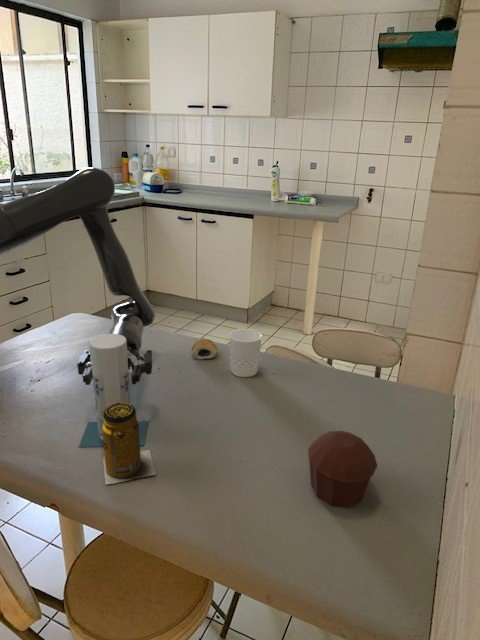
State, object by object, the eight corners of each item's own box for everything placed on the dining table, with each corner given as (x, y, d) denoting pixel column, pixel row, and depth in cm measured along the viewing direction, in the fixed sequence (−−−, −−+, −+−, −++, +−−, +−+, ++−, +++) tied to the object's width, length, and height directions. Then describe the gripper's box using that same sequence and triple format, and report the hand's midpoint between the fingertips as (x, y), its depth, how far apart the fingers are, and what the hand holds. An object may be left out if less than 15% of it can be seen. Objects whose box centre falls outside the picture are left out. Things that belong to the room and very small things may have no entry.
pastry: (192, 344, 130) (193, 332, 128) (217, 345, 130) (217, 332, 129) (191, 360, 121) (191, 347, 120) (217, 360, 122) (217, 347, 120)
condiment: (102, 458, 84) (97, 402, 80) (149, 450, 87) (147, 395, 82) (105, 486, 78) (100, 426, 73) (156, 476, 80) (153, 417, 76)
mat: (78, 447, 87) (78, 446, 87) (87, 422, 94) (87, 421, 94) (143, 445, 88) (143, 445, 88) (147, 421, 95) (147, 420, 95)
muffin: (304, 462, 85) (309, 416, 81) (365, 468, 84) (373, 422, 80) (305, 511, 74) (311, 460, 70) (376, 518, 73) (385, 467, 70)
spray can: (97, 425, 93) (88, 335, 85) (130, 420, 95) (124, 331, 87) (98, 445, 87) (89, 350, 80) (133, 439, 89) (128, 346, 82)
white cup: (235, 361, 121) (237, 326, 118) (264, 367, 119) (266, 332, 115) (223, 374, 115) (224, 337, 111) (253, 381, 112) (255, 344, 108)
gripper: (88, 327, 99) (69, 362, 84) (155, 327, 101) (148, 362, 86) (91, 358, 102) (73, 398, 87) (156, 358, 103) (149, 397, 89)
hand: (110, 380), depth 86 cm, fingers open, 8 cm apart
